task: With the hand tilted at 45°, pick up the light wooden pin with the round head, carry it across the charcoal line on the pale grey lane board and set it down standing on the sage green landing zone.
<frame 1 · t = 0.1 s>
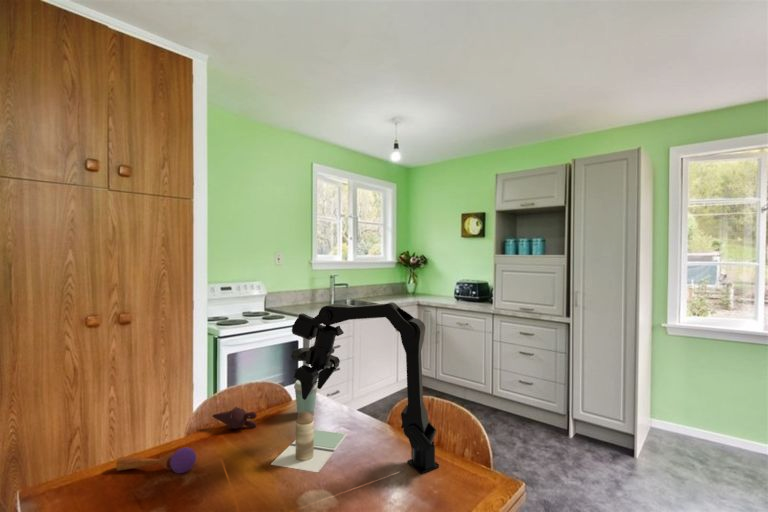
hand: (311, 393, 112), 15 cm above the table, tool pointing down, fingers open, 9 cm apart
lane board: (312, 449, 109), on the table
icecream: (234, 428, 122), on the table
coffee cup: (305, 414, 133), on the table
kendama: (157, 471, 98), on the table
wooden pin: (304, 456, 104), resting on lane board
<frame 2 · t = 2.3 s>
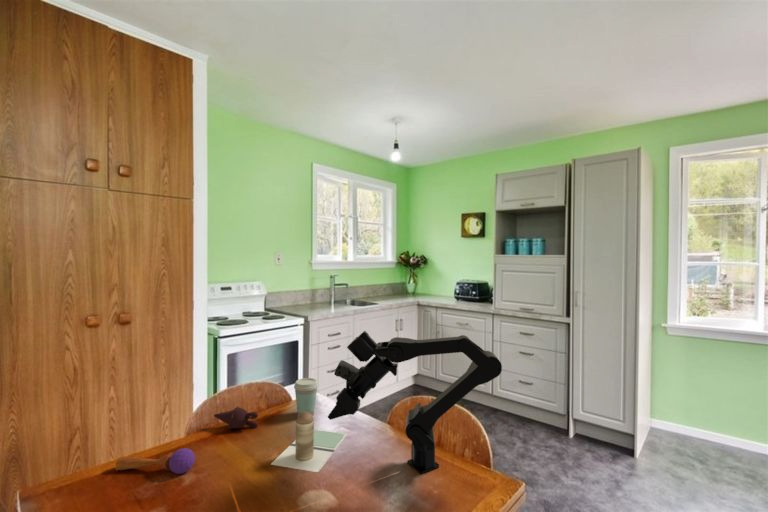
hand: (333, 411, 104), 14 cm above the table, tool tilted 45°, fingers open, 9 cm apart
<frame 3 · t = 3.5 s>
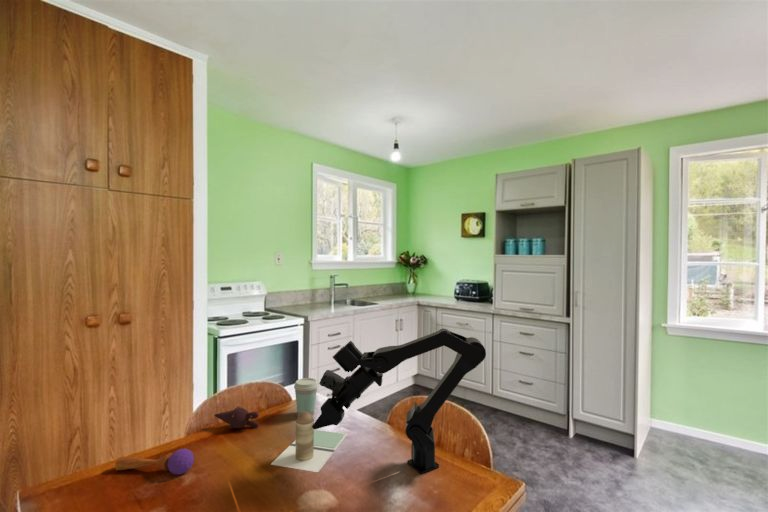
hand: (318, 420, 104), 11 cm above the table, tool tilted 45°, fingers open, 9 cm apart
nothing on the table moved.
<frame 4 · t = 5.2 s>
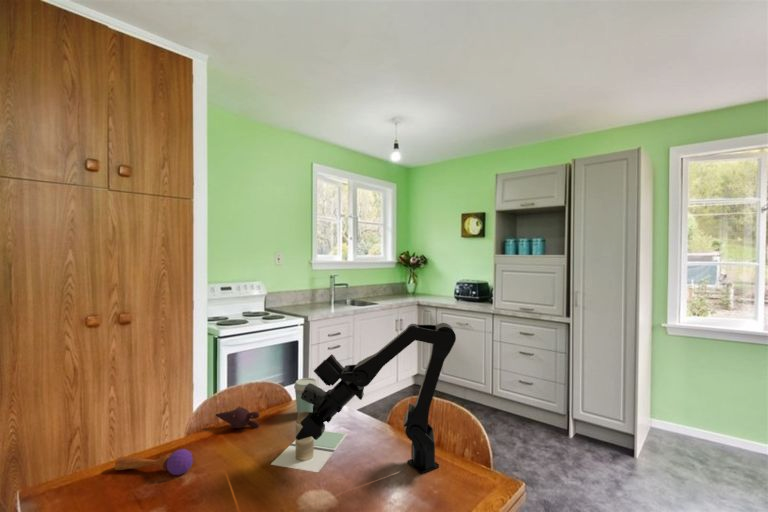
hand: (300, 434, 105), 7 cm above the table, tool tilted 45°, fingers closed on wooden pin, 5 cm apart
wooden pin: (304, 456, 104), resting on lane board, touching gripper
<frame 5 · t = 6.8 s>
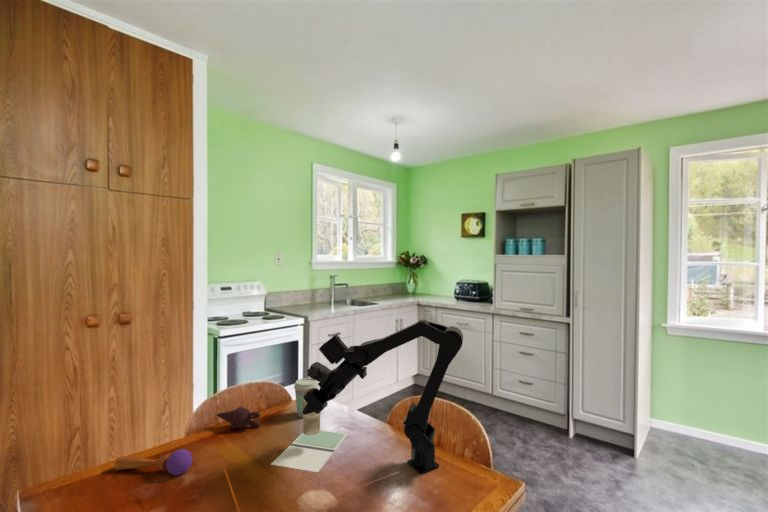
hand: (307, 409, 110), 11 cm above the table, tool tilted 45°, fingers closed on wooden pin, 5 cm apart
wooden pin: (311, 431, 109), point 5 cm above the table, touching gripper
when the fingers open (8 cm above the table, at t = 8.5 s): wooden pin drops 1 cm, resting on lane board.
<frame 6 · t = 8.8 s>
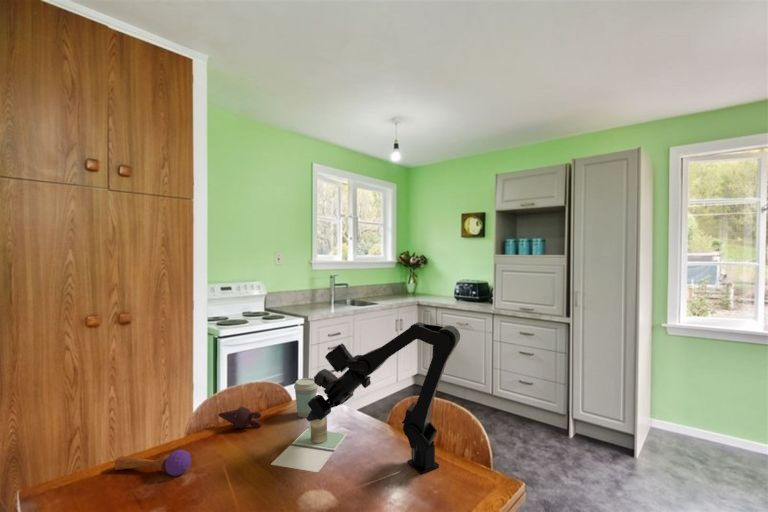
hand: (315, 414, 114), 8 cm above the table, tool tilted 45°, fingers open, 8 cm apart
wooden pin: (319, 439, 114), point 1 cm above the table, touching lane board
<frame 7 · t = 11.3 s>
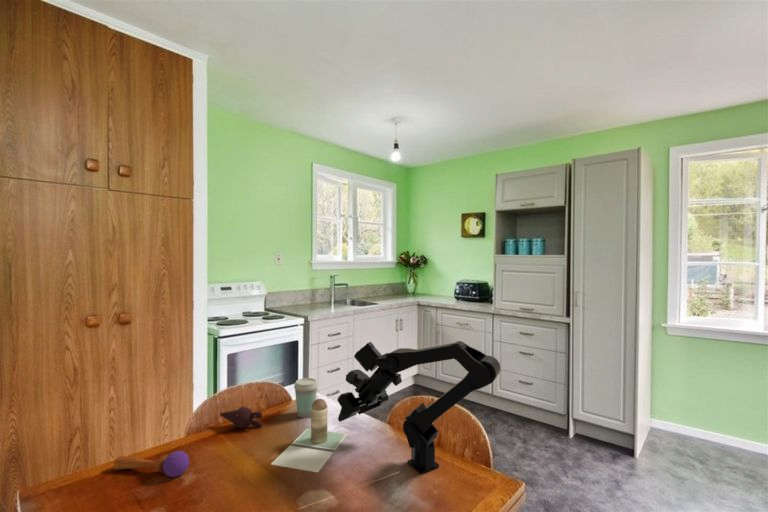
hand: (349, 416, 113), 8 cm above the table, tool tilted 40°, fingers open, 9 cm apart
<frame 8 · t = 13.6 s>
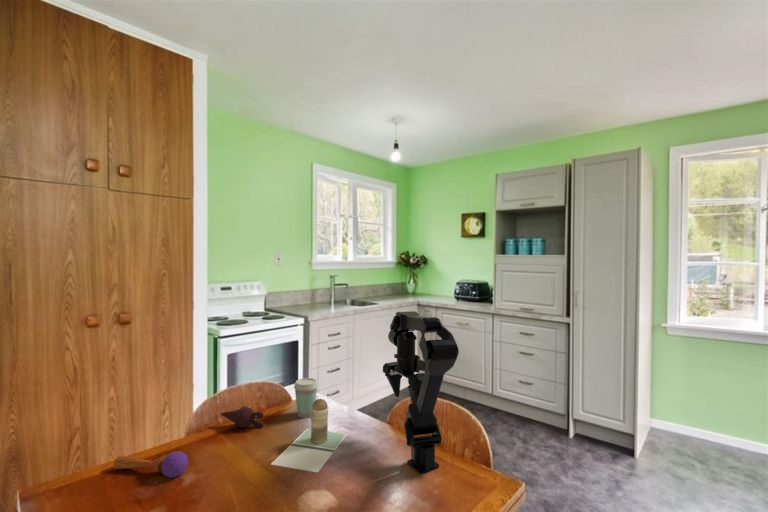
hand: (405, 401, 115), 12 cm above the table, tool pointing down, fingers open, 9 cm apart
at the end: wooden pin 0.4 cm from the target spot, point 0.5 cm above the table; wooden pin tilted 1°; the gripper is holding nothing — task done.
